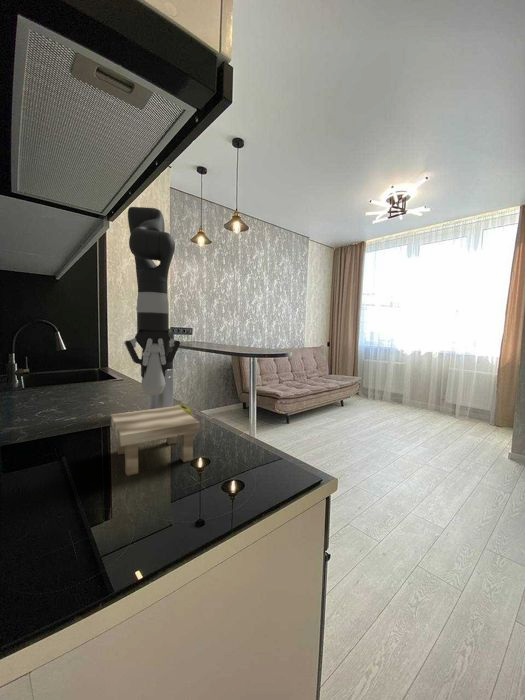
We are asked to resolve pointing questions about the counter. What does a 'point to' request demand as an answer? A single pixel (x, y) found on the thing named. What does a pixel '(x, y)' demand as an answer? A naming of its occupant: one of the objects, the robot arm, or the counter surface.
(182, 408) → the apple
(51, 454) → the counter surface
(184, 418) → the footstool
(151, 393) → the salt shaker
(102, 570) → the counter surface
